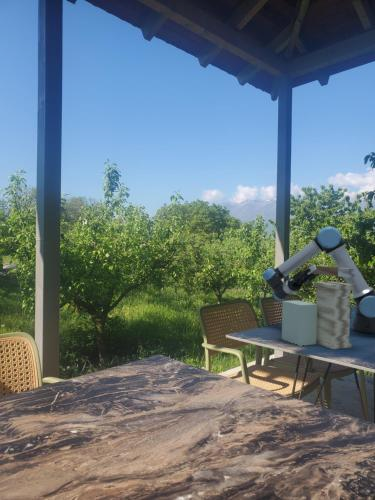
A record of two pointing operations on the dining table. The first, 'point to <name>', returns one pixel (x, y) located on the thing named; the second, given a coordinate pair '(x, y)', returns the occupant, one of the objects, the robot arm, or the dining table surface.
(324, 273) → the brown grey bar
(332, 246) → the robot arm
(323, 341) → the tall stand
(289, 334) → the block
